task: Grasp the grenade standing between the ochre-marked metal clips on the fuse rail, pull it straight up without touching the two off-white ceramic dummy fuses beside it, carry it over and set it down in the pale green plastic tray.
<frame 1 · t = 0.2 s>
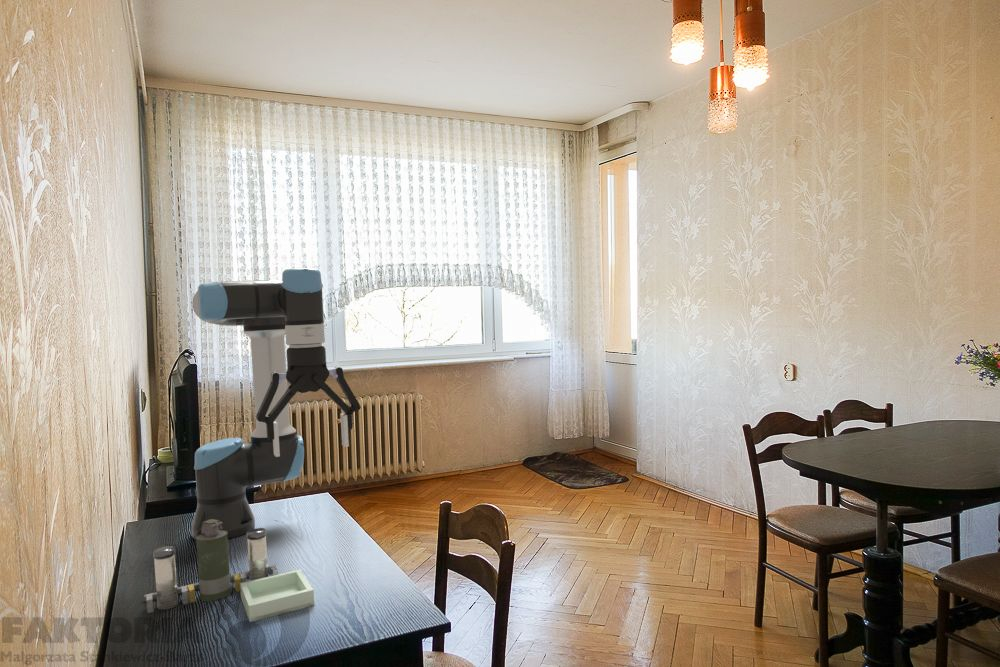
hand: (311, 450, 131), 28 cm above the table, fingers open, 13 cm apart
tray: (277, 601, 126), on the table
fuse rail: (215, 593, 131), on the table
grenade: (215, 594, 131), on the table
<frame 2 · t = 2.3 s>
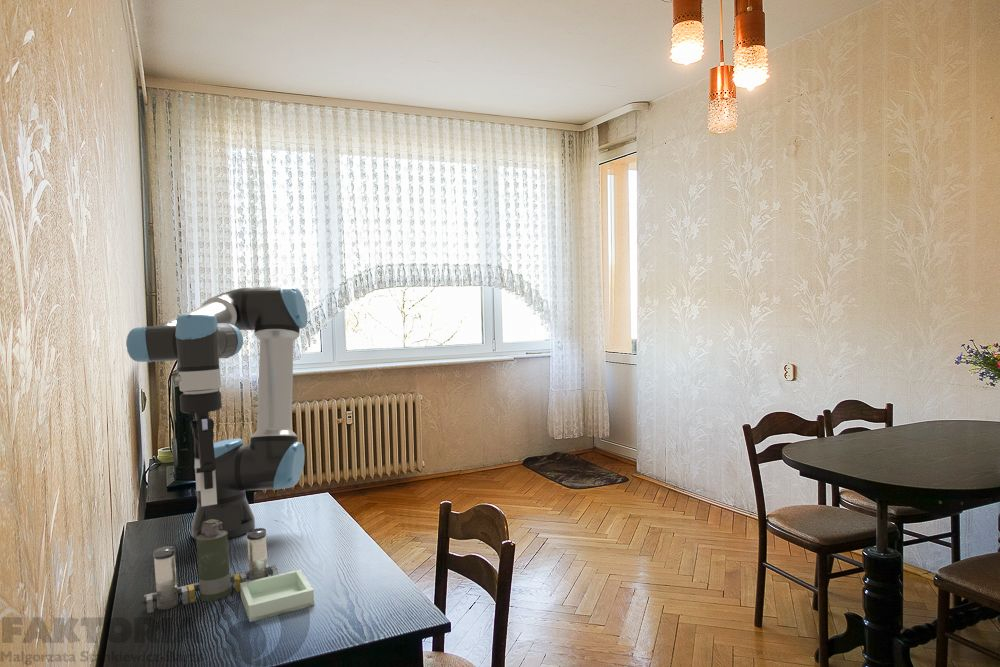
hand: (206, 497, 130), 20 cm above the table, fingers open, 13 cm apart
nothing on the table moved.
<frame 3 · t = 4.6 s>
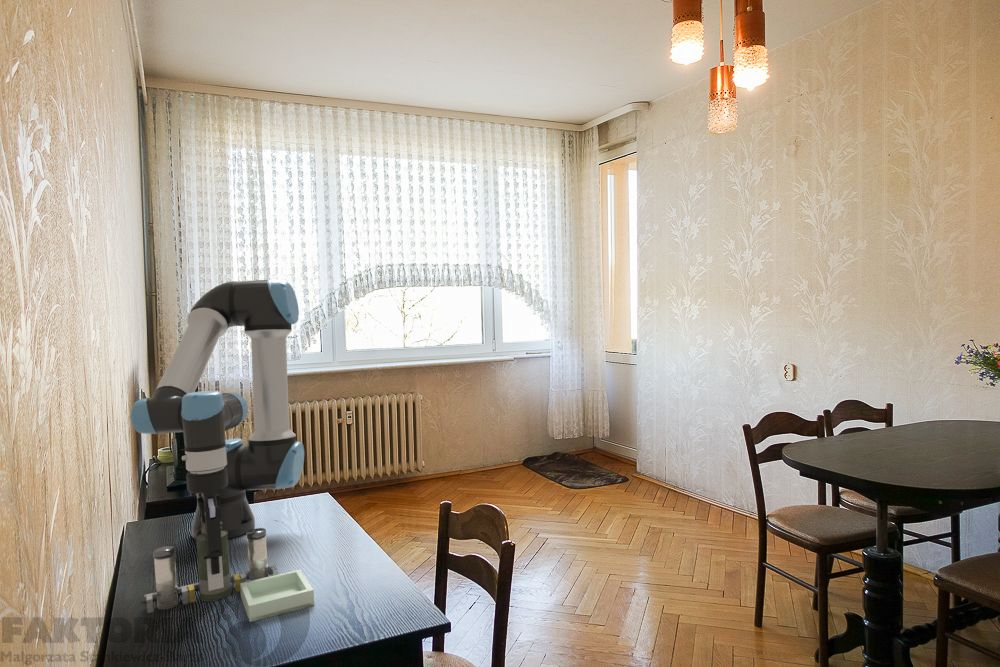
hand: (214, 582, 131), 2 cm above the table, fingers closed on grenade, 6 cm apart
grenade: (215, 595, 131), on the table, touching gripper
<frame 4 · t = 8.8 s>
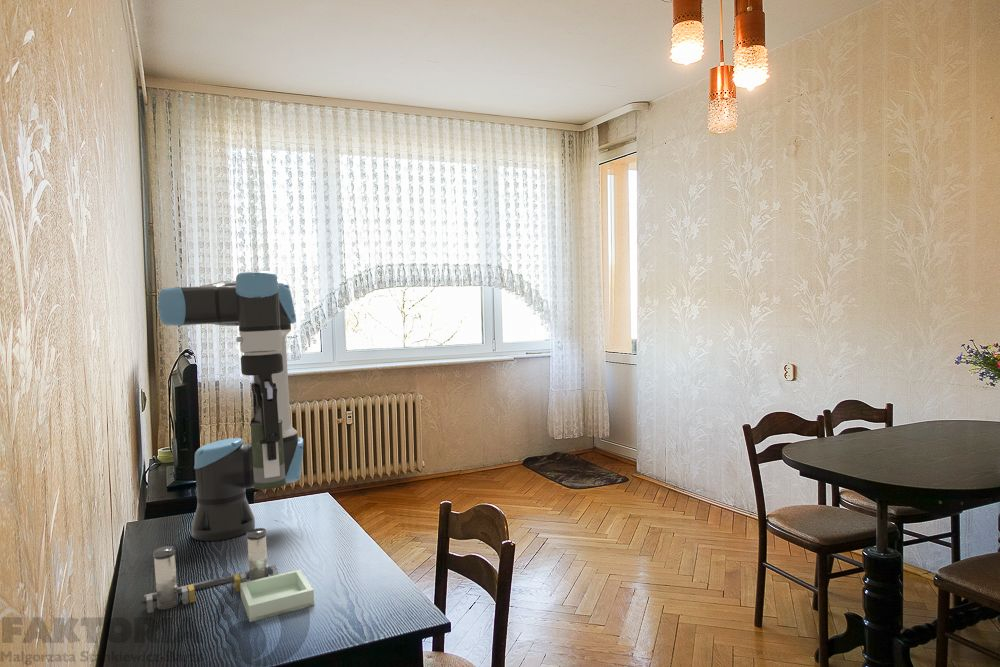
hand: (268, 472, 125), 25 cm above the table, fingers closed on grenade, 6 cm apart
grenade: (269, 486, 125), point 23 cm above the table, touching gripper
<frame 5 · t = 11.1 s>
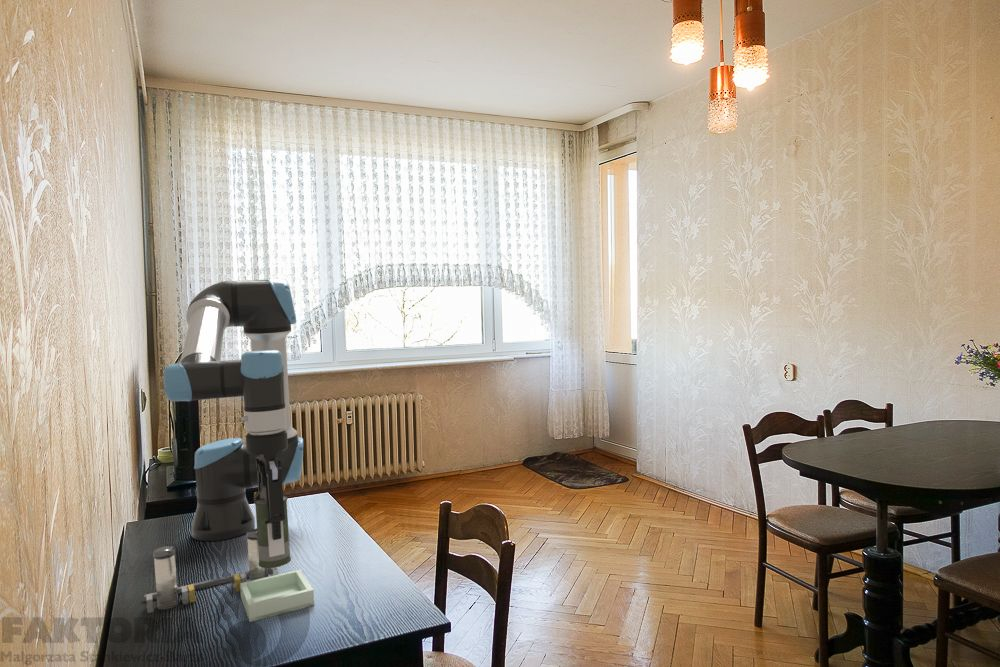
hand: (273, 549, 125), 10 cm above the table, fingers closed on grenade, 6 cm apart
grenade: (274, 562, 125), point 8 cm above the table, touching gripper
when the fingers open (4 cm above the table, at t = 12.9 s): grenade drops 1 cm, resting on tray.
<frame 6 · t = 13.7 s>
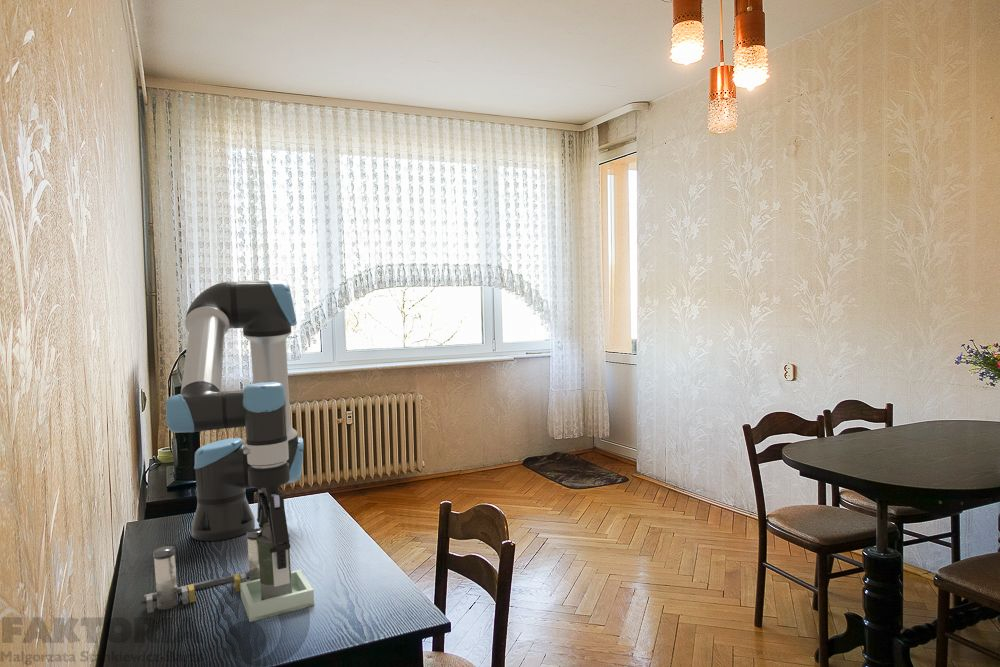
hand: (275, 571, 126), 6 cm above the table, fingers open, 13 cm apart
grenade: (276, 599, 126), resting on tray
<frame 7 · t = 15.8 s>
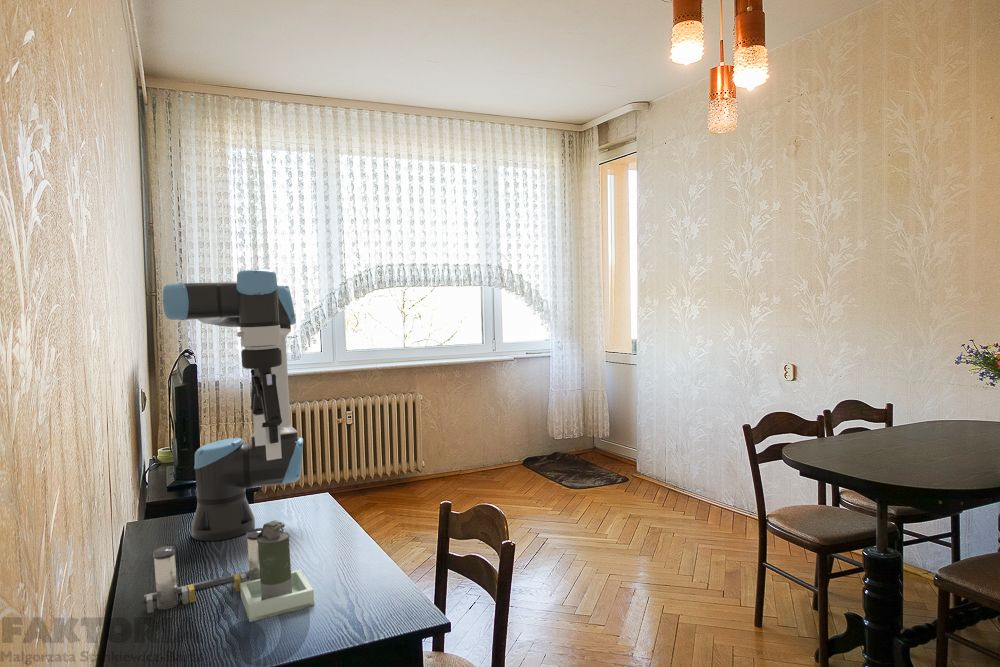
hand: (267, 451, 131), 28 cm above the table, fingers open, 13 cm apart
nothing on the table moved.
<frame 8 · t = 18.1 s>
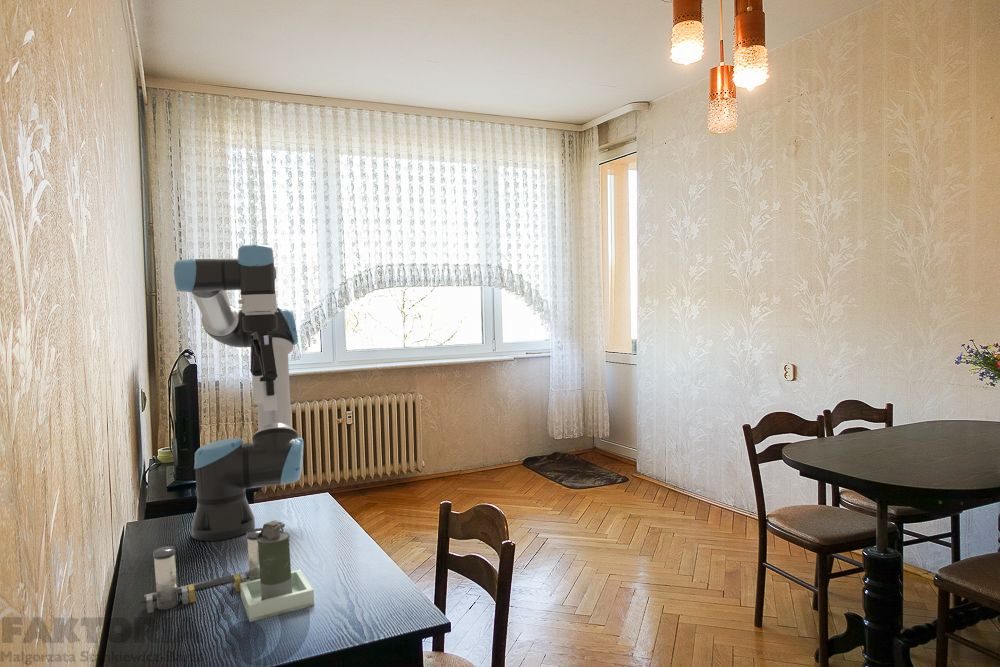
hand: (265, 406, 148), 35 cm above the table, fingers open, 13 cm apart
nothing on the table moved.
at the end: grenade inside the target area on the tray (0.0 cm from its centre), point 0.4 cm above the tray's base; the gripper is holding nothing; grenade moved 14.9 cm from its start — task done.
